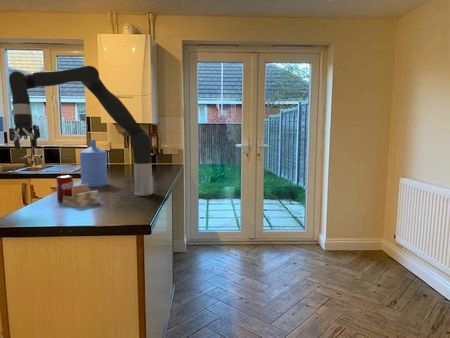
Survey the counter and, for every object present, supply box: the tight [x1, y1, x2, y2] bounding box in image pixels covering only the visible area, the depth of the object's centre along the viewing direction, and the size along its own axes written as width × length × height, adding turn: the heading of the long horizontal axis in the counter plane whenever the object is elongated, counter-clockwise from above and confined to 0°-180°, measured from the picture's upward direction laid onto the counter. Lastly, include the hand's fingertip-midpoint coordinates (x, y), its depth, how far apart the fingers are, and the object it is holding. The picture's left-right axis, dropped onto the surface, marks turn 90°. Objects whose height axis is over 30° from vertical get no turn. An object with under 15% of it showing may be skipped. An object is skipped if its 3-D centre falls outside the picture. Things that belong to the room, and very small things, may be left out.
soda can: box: [55, 175, 74, 203], centre depth 161 cm, size 7×7×12 cm
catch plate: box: [72, 184, 90, 198], centre depth 155 cm, size 8×1×9 cm, turn 151°
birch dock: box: [62, 189, 100, 208], centre depth 156 cm, size 11×11×6 cm
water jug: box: [79, 139, 109, 188], centre depth 202 cm, size 16×16×28 cm
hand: (26, 148), depth 156 cm, fingers open, 8 cm apart
